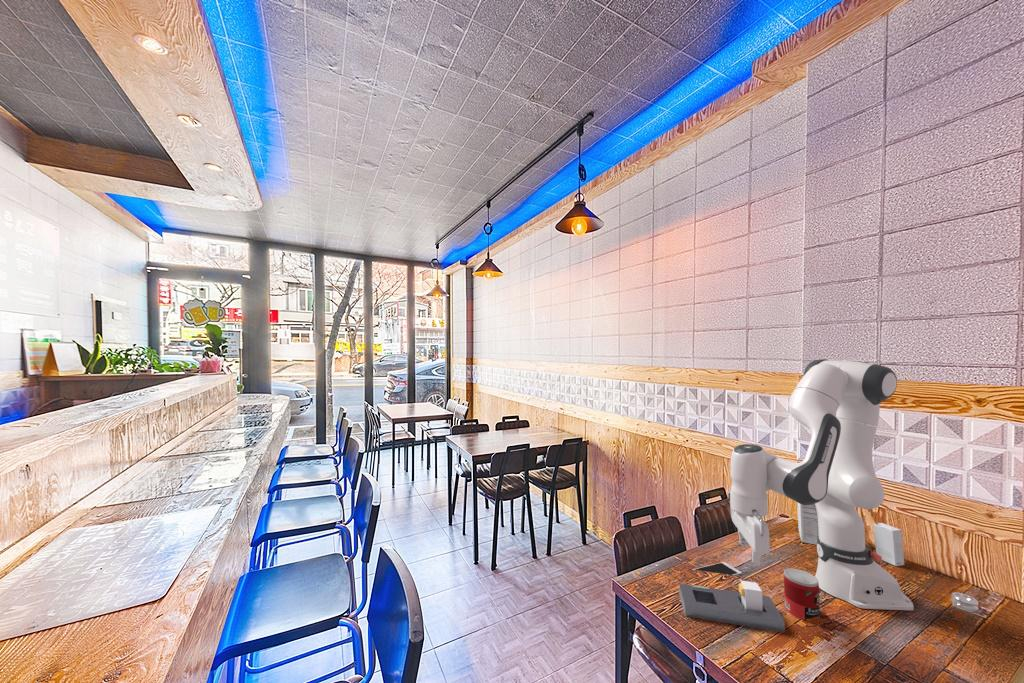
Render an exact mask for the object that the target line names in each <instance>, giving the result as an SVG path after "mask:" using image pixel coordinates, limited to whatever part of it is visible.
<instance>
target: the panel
mask: <svg viewBox="0 0 1024 683" xmlns="http://www.w3.org/2000/svg"><path fill="white" fill-rule="evenodd" d="M678 589H679V590H678V594H679V598H680V602H681V605H682V609H683V614H684V616H685V617H689V618H695V619H701V620H708V621H714V622H720V623H725V624H726V623H727V624H733V625H739V626H745V627H751V628H758V629H763V630H768V631H775V632H781V633H785V632H786V628H785V627H786V626H785V618H784V617H783V615H782V614H781V613H780V611H779V610H778V609H779V608H777V606H776V605H775V603H774V602H773V600H772V599H771V596H768V595H762V604H763V612H761V611H754V610H748V609H744V608H743V606H742V602H741V594H740V592H739V591H734V590H733V591H732V590H726V589H718V588H711V587H707V586H699V585H695V584H693V585H691V584H684V583H679V584H678Z"/></svg>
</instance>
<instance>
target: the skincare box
mask: <svg viewBox="0 0 1024 683" xmlns="http://www.w3.org/2000/svg"><path fill="white" fill-rule="evenodd" d="M873 531H874V544H875V552H876V553H877V554H879V555H880V556H881V558H882V560H881V561H883V562H886V563H888V564H891V565H893V566H894V567H900V566H904V565H905V556H904V545H903V544H904V543H903V532H902V529H900V528H897V527H894V526H891V525H889V524H886V523H884V522H878V523H874V524H873Z"/></svg>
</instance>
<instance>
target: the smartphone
mask: <svg viewBox="0 0 1024 683" xmlns="http://www.w3.org/2000/svg"><path fill="white" fill-rule="evenodd" d="M691 570H692V571H693V570H694V571H700V572H708V573H715V574H723V575H731V576H739V575H738V574H740V575H742V574H743V573H742V571H740V570H738V569H737V568H735V567H733V566H732V565H730V564H729V563H727V562H726V561H722V562H718V563H714V564H713V563H712V564H710V565H705V566H701V567H697V568H694V569H693V568H692V569H691Z"/></svg>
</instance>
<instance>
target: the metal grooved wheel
mask: <svg viewBox="0 0 1024 683" xmlns="http://www.w3.org/2000/svg"><path fill="white" fill-rule="evenodd" d="M950 595H951V604H952V605H953V606H955V607H956V608H957V609H960V610H962V611H964V612H965V611H966V612H969V613H974V614H975V613H979V612H980V608H979V607H978V606H979V601H978V600H977V599H976V598H974V597H972V596H971V595H968V594H965V593H962V592H959V591H958V592H955V591H954V592H952V593H951V594H950Z"/></svg>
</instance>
